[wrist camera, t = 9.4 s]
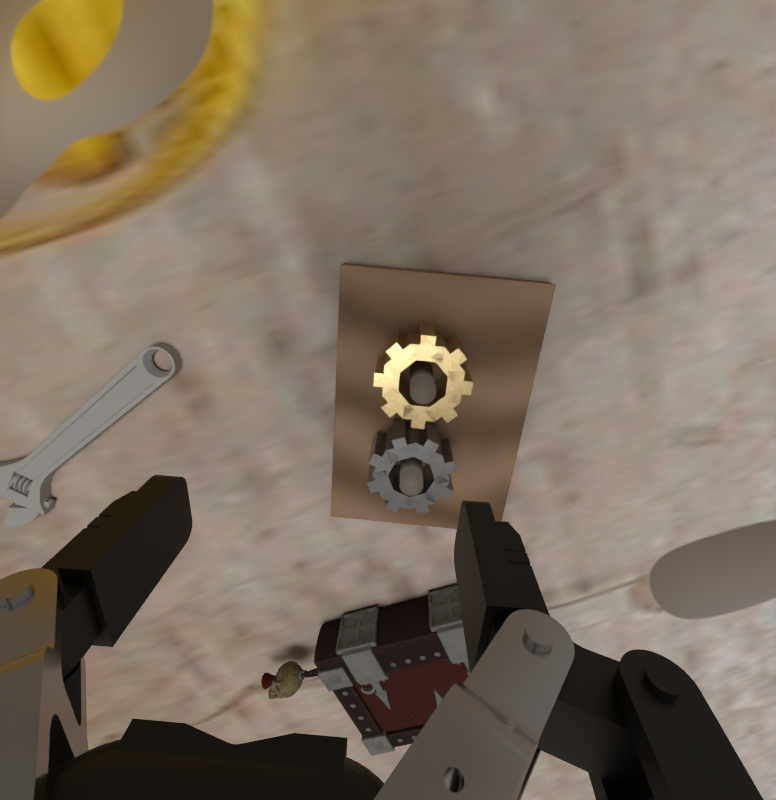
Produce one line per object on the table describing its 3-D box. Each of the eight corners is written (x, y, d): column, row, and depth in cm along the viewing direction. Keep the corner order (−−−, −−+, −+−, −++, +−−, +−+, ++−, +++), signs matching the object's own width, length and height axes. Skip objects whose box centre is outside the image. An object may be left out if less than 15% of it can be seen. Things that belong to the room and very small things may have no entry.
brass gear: (380, 320, 28) (377, 331, 25) (471, 328, 28) (480, 340, 25) (374, 403, 30) (370, 424, 27) (458, 411, 30) (464, 432, 27)
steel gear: (359, 428, 31) (354, 450, 28) (439, 406, 30) (443, 427, 27) (384, 494, 33) (382, 522, 30) (460, 476, 32) (466, 503, 29)
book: (535, 672, 42) (551, 727, 38) (319, 719, 47) (309, 773, 42) (493, 569, 38) (505, 616, 33) (258, 632, 42) (239, 681, 38)
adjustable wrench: (167, 333, 31) (154, 338, 29) (222, 400, 33) (213, 408, 31) (-36, 478, 37) (-57, 489, 35) (21, 528, 39) (4, 541, 37)
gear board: (344, 263, 28) (328, 269, 22) (548, 282, 28) (583, 293, 22) (333, 505, 35) (319, 555, 30) (495, 521, 35) (511, 574, 30)
